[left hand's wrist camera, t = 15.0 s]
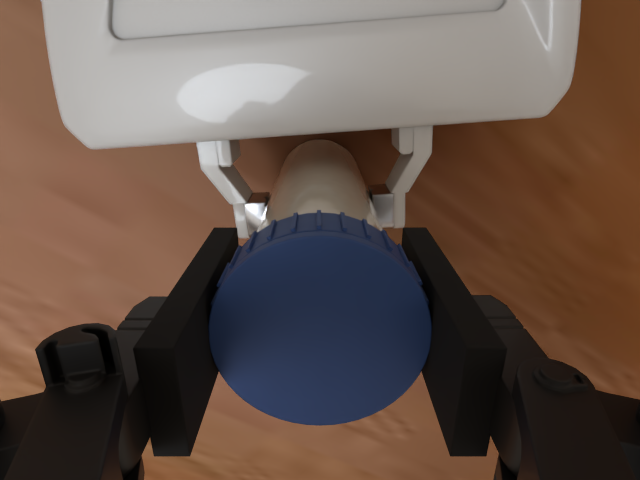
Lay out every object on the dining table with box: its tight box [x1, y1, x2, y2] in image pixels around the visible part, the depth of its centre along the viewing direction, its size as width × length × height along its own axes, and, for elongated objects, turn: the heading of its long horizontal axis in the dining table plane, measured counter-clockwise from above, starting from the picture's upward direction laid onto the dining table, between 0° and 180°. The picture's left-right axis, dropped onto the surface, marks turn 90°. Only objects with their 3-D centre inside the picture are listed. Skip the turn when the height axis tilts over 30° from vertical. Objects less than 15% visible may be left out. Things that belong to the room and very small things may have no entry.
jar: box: [256, 139, 383, 232], centre depth 18 cm, size 5×5×16 cm
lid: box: [208, 210, 432, 425], centre depth 11 cm, size 6×6×2 cm
